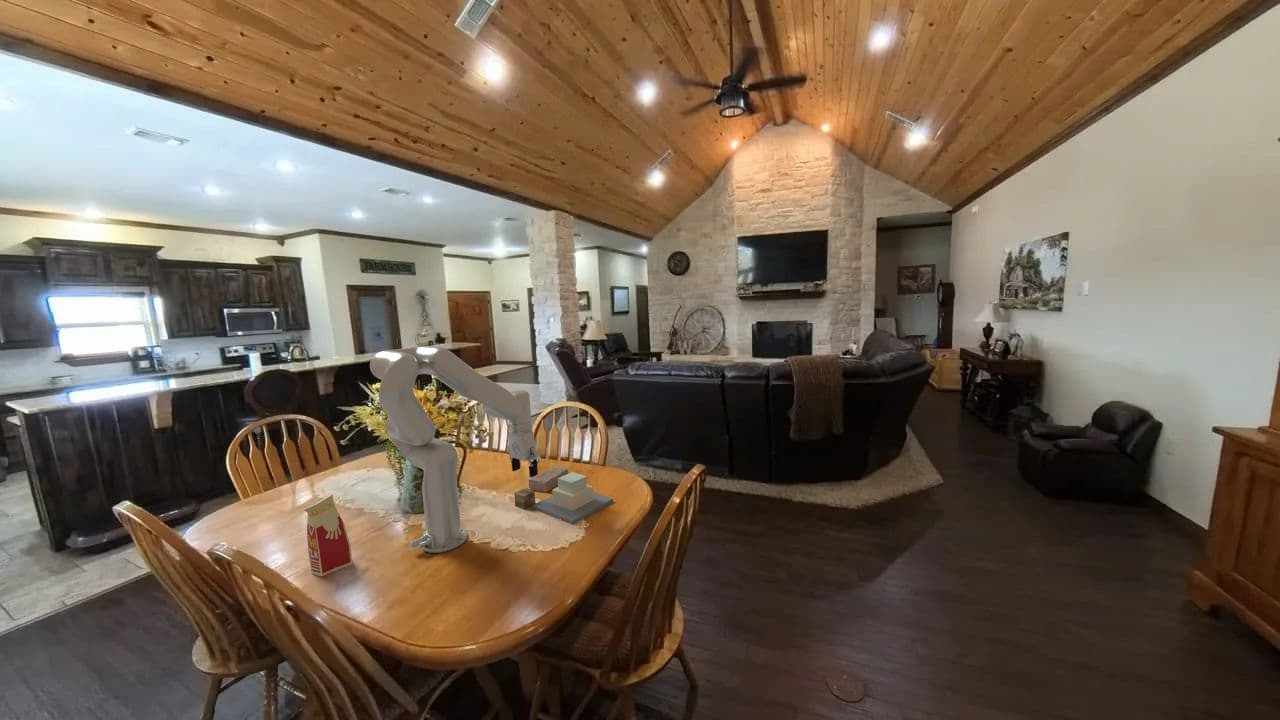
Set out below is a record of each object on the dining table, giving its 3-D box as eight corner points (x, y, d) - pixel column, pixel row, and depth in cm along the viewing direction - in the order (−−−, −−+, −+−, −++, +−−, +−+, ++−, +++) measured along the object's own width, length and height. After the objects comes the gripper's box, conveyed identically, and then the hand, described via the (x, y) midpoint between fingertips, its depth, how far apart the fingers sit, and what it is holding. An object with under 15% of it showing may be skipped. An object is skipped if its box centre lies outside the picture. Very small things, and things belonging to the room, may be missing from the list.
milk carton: (342, 552, 131) (335, 487, 129) (354, 563, 125) (346, 495, 123) (305, 567, 124) (296, 498, 122) (315, 579, 118) (306, 508, 116)
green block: (572, 494, 153) (571, 482, 152) (558, 489, 157) (557, 478, 156) (586, 487, 158) (586, 476, 158) (572, 482, 162) (572, 472, 162)
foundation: (572, 524, 144) (571, 506, 144) (532, 508, 157) (531, 491, 156) (613, 501, 160) (612, 485, 159) (574, 488, 172) (573, 473, 171)
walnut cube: (524, 510, 156) (523, 496, 155) (515, 506, 159) (514, 492, 158) (535, 504, 160) (534, 491, 159) (526, 501, 163) (525, 488, 162)
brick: (552, 475, 187) (552, 464, 187) (569, 477, 184) (569, 466, 183) (528, 490, 172) (527, 479, 172) (546, 494, 169) (545, 482, 168)
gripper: (496, 425, 158) (501, 471, 160) (527, 433, 147) (532, 482, 150) (514, 419, 164) (518, 464, 166) (545, 427, 153) (549, 474, 156)
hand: (525, 472), depth 158 cm, fingers open, 9 cm apart
